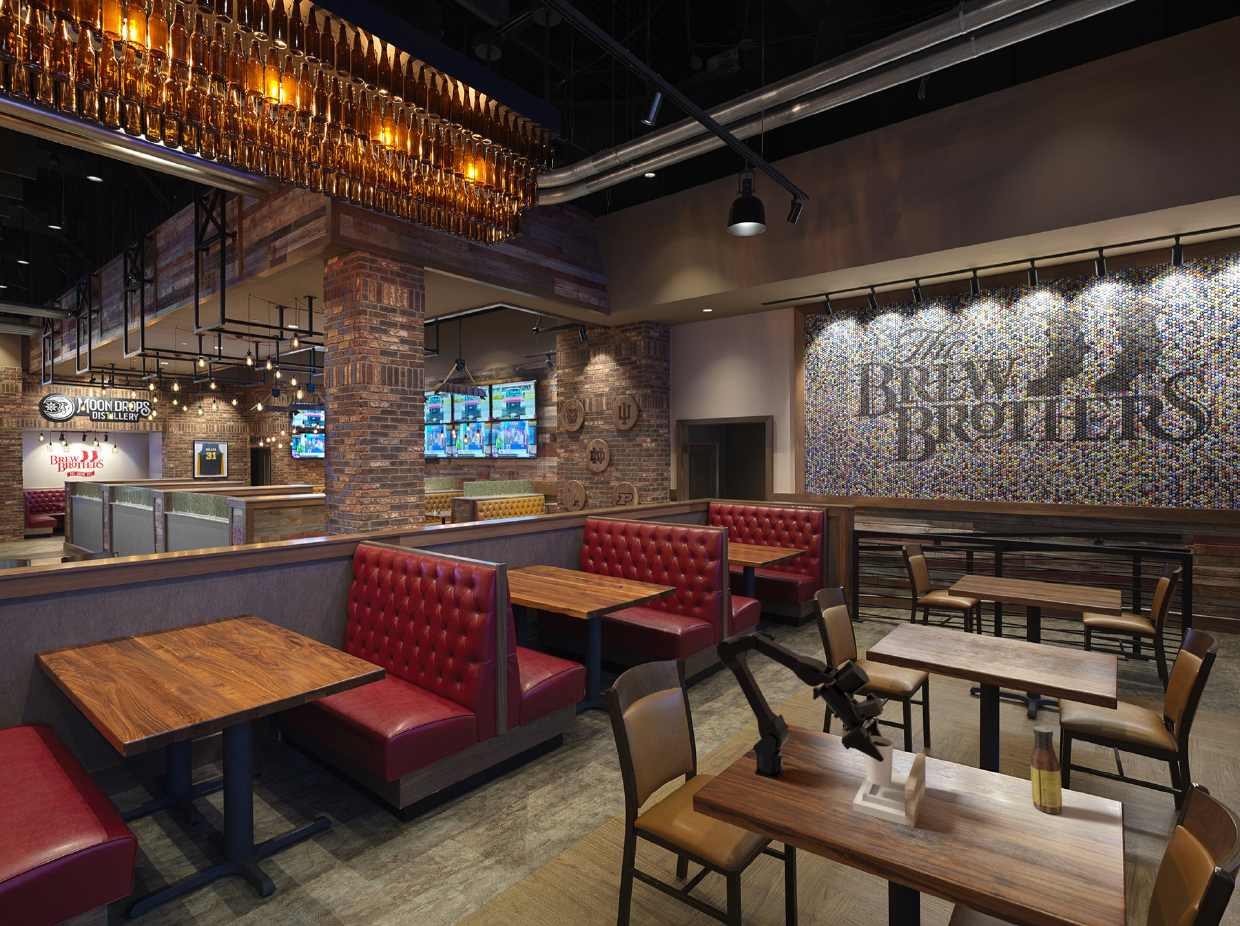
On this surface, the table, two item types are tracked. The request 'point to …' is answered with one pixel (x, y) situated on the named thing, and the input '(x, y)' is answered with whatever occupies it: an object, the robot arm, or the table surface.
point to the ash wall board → (915, 790)
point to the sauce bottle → (1045, 773)
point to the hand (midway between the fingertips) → (884, 755)
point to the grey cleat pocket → (883, 799)
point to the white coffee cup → (879, 770)
